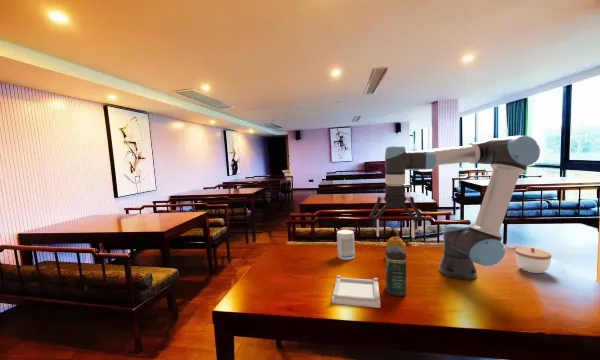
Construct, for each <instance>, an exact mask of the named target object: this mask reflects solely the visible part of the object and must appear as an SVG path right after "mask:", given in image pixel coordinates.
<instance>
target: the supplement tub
mask: <svg viewBox="0 0 600 360" xmlns="http://www.w3.org/2000/svg"><path fill="white" fill-rule="evenodd" d="M336 243H337V244H336V245H337V247H336V249H337V257H338V259H340V260H344V261H349V260H352V259H354V258H355V256H356V252H355V233H354V231H353V230H352V229H351V230H350V229H341V230H340V229H339V230H338V231H337V232H336Z"/></svg>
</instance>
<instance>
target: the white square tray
mask: <svg viewBox="0 0 600 360" xmlns="http://www.w3.org/2000/svg"><path fill="white" fill-rule="evenodd" d="M378 281H379V278H377V277H373V279H369V278H368V279H366V278H356V277H354V278H352V277H342V276H341V275H340V274H338V275H336V279H335V285H334V289H333V293H331V294H332V297H331V304H338V305H346V306H356V307H367V308H379V309H380V308H381V296H380V289H379V282H378Z"/></svg>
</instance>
